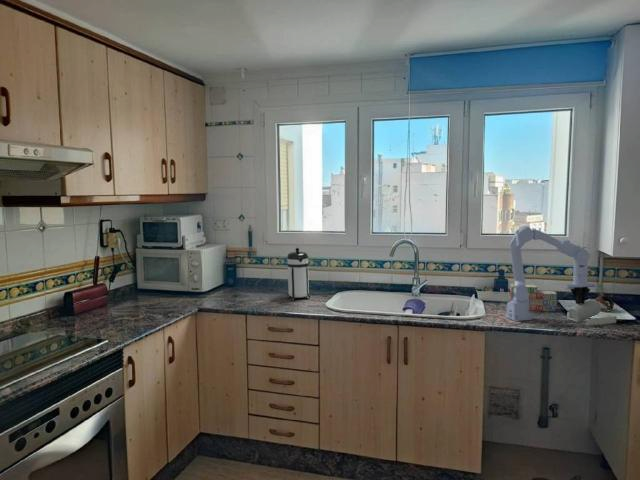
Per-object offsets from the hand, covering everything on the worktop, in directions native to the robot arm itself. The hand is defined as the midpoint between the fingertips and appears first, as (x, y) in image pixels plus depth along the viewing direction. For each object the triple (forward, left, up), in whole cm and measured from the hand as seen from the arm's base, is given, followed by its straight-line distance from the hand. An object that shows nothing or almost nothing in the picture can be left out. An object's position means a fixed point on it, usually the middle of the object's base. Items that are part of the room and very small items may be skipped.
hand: (579, 303), depth 216 cm
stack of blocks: (-5, +26, -9) cm, 28 cm away
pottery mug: (+25, +15, -9) cm, 30 cm away
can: (-3, 0, -5) cm, 6 cm away
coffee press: (-116, +90, -9) cm, 147 cm away
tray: (+7, 0, -9) cm, 11 cm away
